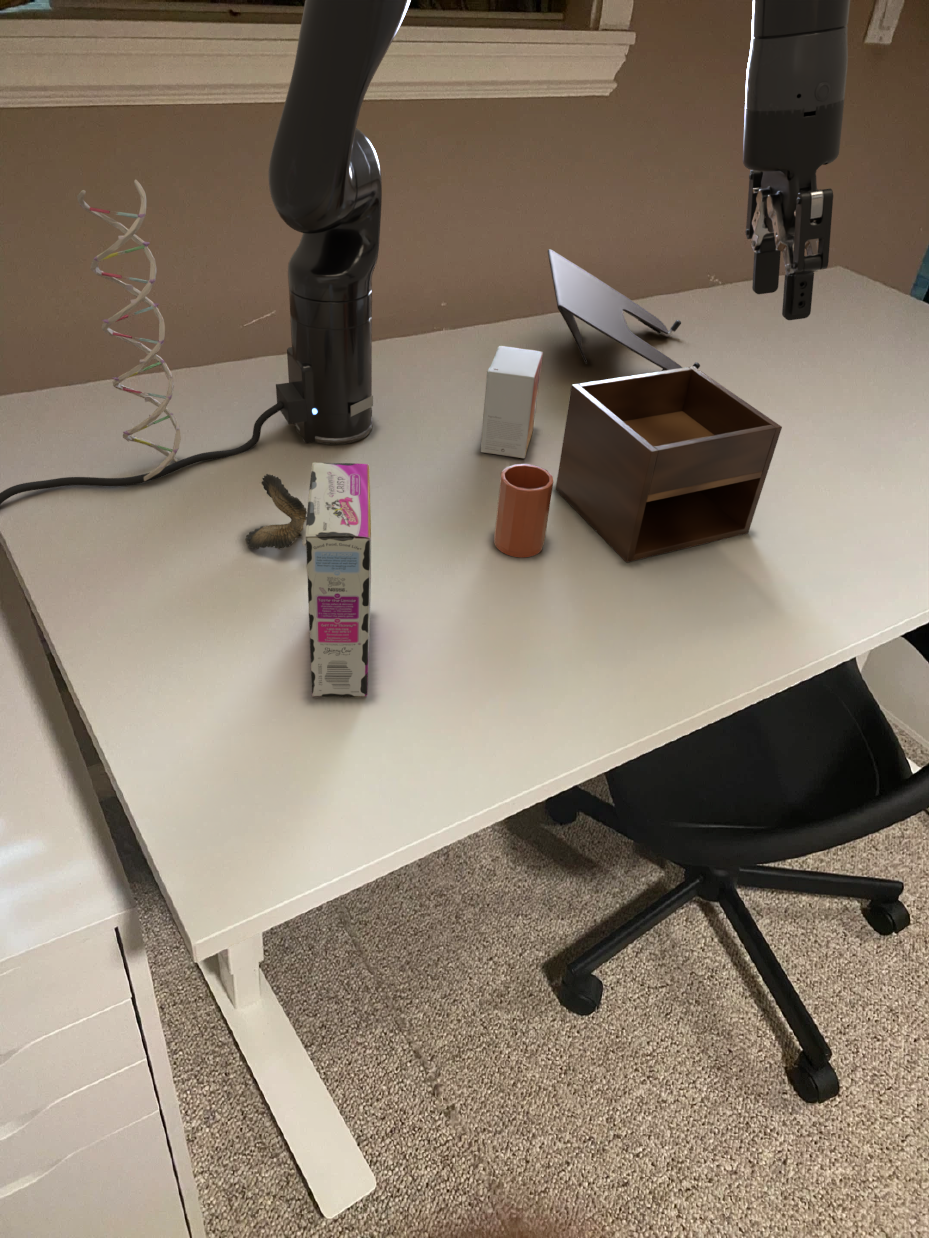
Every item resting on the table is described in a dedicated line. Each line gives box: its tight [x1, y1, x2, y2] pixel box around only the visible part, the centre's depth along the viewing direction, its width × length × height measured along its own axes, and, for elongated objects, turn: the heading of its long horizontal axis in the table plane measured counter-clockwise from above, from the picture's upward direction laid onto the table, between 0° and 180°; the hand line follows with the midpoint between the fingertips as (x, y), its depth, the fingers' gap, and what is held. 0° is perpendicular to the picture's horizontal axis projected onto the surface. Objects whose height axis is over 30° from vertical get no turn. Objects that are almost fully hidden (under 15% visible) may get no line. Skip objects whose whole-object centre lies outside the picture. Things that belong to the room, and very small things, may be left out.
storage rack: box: [555, 365, 783, 563], centre depth 98 cm, size 16×15×13 cm
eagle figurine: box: [245, 473, 307, 550], centre depth 91 cm, size 8×7×9 cm
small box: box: [480, 345, 544, 459], centre depth 109 cm, size 8×6×10 cm
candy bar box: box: [305, 462, 372, 699], centre depth 75 cm, size 11×5×16 cm, turn 5°
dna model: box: [76, 179, 182, 481], centre depth 92 cm, size 7×6×30 cm
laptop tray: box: [547, 248, 701, 371], centre depth 134 cm, size 23×23×9 cm
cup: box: [493, 463, 554, 558], centre depth 93 cm, size 5×5×8 cm
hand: (779, 305), depth 82 cm, fingers open, 8 cm apart
